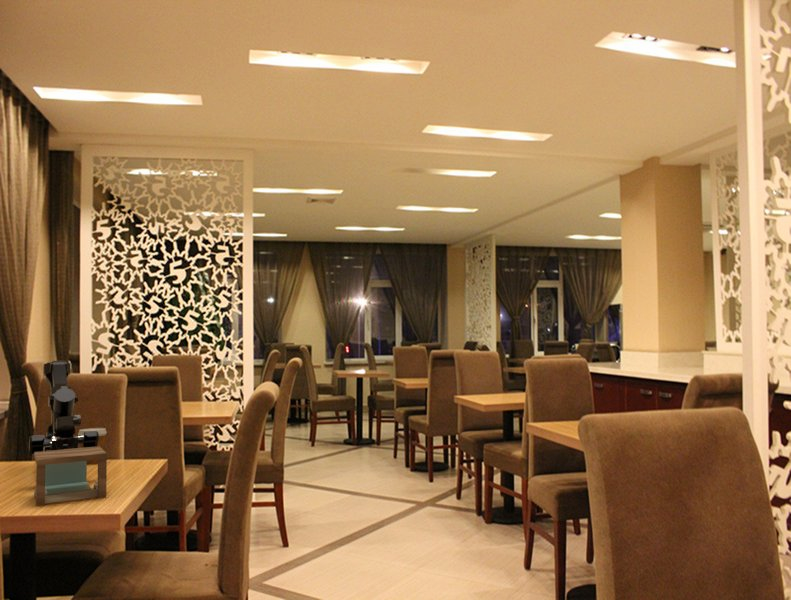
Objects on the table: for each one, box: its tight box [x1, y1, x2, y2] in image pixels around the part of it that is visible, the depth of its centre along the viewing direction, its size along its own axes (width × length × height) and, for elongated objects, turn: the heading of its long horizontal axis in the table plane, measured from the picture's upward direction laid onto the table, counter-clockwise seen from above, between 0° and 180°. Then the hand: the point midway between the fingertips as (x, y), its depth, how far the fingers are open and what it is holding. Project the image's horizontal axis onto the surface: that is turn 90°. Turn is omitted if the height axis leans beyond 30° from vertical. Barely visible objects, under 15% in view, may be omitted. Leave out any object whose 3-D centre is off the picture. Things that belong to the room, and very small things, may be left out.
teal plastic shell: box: [45, 461, 92, 495], centre depth 191 cm, size 14×11×9 cm
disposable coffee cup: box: [77, 427, 108, 466], centre depth 239 cm, size 10×10×12 cm
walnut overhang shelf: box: [33, 446, 108, 507], centre depth 185 cm, size 16×17×12 cm
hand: (65, 464), depth 197 cm, fingers closed, pressing on teal plastic shell
